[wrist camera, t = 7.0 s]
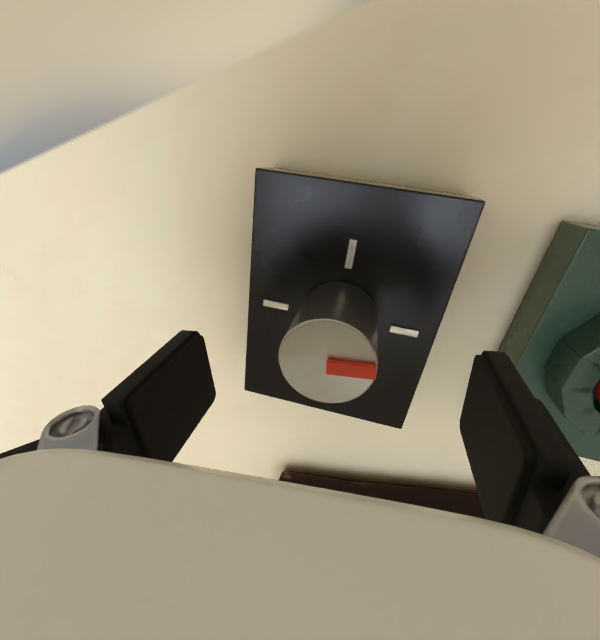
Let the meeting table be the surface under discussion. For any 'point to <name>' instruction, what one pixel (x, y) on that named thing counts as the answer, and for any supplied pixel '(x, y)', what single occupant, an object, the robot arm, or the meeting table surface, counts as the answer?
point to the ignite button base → (564, 335)
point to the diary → (396, 493)
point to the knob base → (354, 274)
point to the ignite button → (598, 391)
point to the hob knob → (332, 344)
